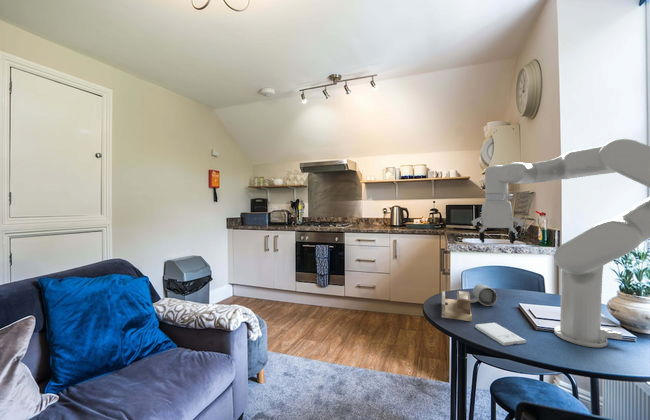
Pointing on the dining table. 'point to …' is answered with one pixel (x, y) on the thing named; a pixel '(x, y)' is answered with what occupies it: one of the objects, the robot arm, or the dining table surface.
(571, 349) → the dining table surface
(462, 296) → the brown rectangular block
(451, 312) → the oak ledge
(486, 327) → the external hard drive
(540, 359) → the dining table surface
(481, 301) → the ceramic mug
